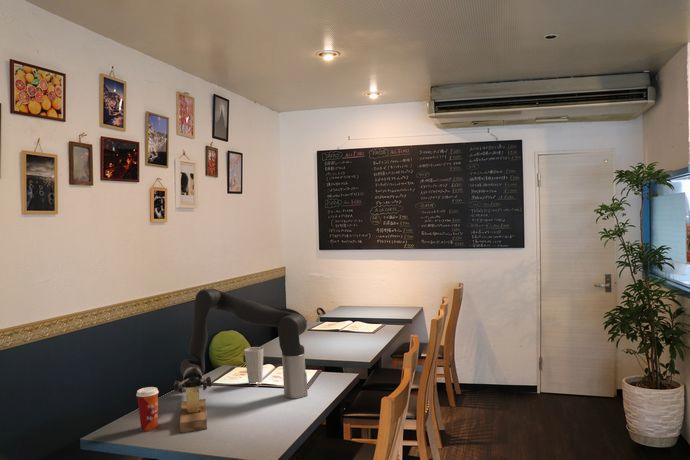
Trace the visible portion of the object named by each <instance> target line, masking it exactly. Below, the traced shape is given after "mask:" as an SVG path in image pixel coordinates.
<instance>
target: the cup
mask: <svg viewBox="0 0 690 460" xmlns="http://www.w3.org/2000/svg"><path fill="white" fill-rule="evenodd" d="M243 352H244V358H245V365H246V373H247V379H248V381H247V382H248V384H249V383H256V382H261V381H262V382H263V373H264V347H262V346H252V347H250V346H249V347H247V348H244V350H243Z"/></svg>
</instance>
